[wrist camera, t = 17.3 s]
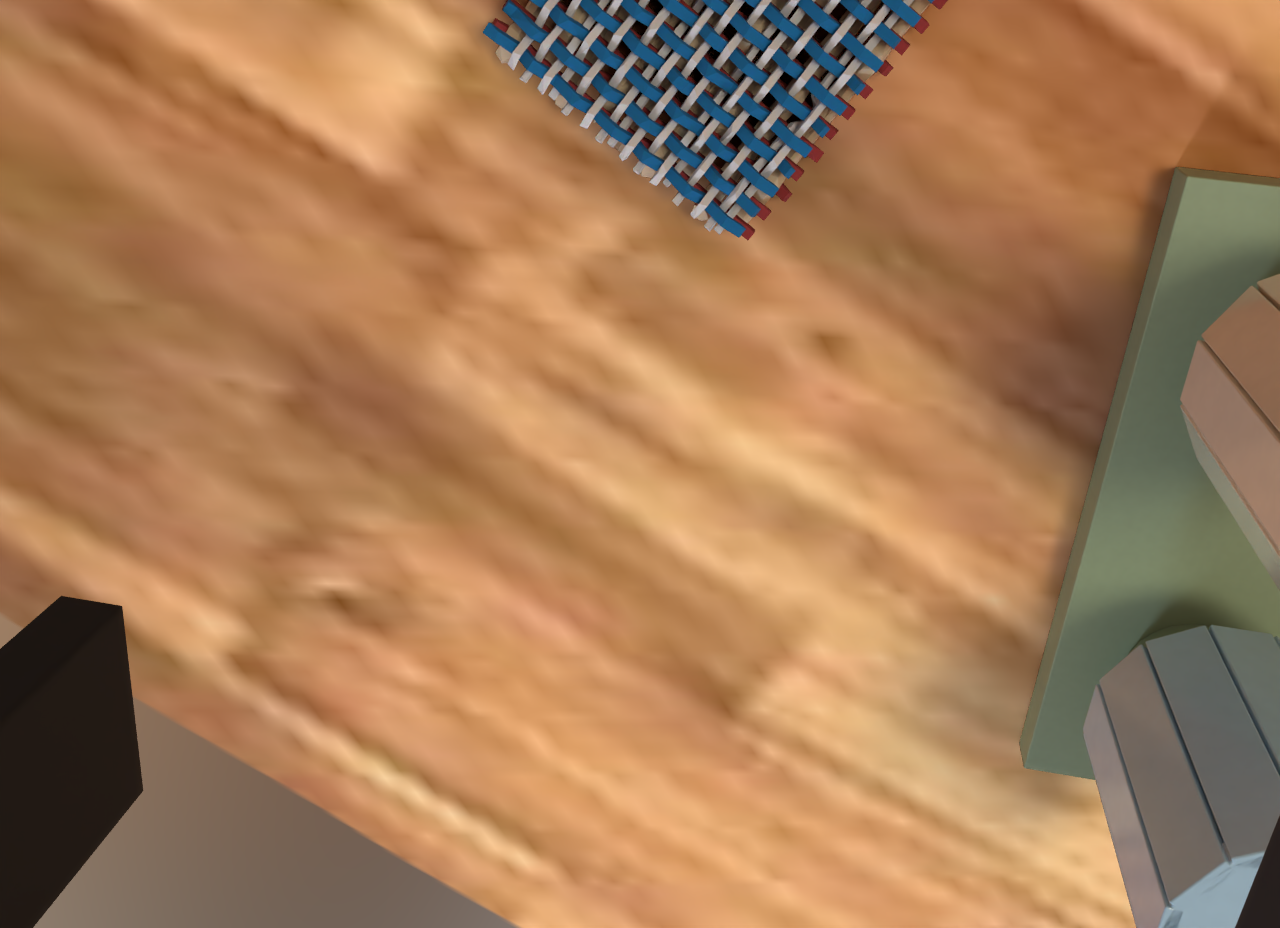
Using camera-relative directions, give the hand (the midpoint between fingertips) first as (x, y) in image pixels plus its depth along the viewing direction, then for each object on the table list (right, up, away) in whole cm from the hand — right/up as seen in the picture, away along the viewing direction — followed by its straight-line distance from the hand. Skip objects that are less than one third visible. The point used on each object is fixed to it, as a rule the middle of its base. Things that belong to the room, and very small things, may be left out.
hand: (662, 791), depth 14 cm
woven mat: (+2, +18, +24) cm, 30 cm away
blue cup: (+18, -6, +27) cm, 33 cm away
